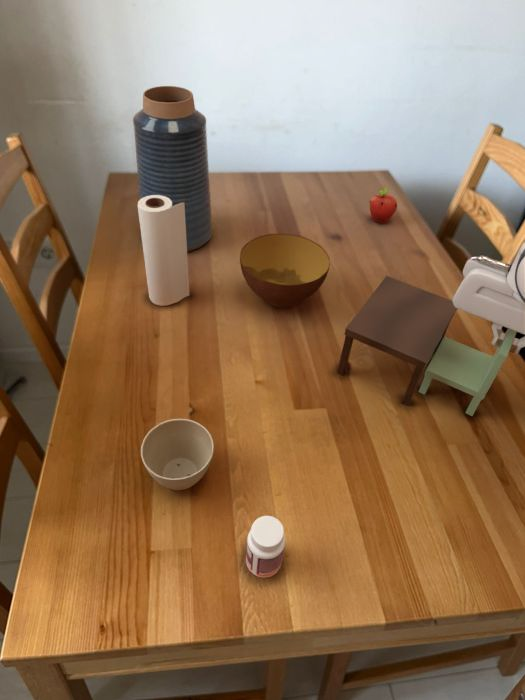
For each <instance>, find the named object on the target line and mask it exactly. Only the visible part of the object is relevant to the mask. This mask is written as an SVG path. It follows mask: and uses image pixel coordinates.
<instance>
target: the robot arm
mask: <svg viewBox="0 0 525 700" xmlns="http://www.w3.org/2000/svg"><path fill="white" fill-rule="evenodd" d="M462 276H463V279H462V281H461V283H460V284H459V285H458V288H457V290H456V291H455V293H454V295H453V297H452V300H451V301H452V302H453V304H454V306H455V308H457V310H460V311H462V312H465V313H467V314H471V315H472V316H476V317H477V318H480V319H483V320H486V321H488V322H490V323H492V325H491V331H492V334H493V338H492V341H491V343H490V344H491V345H492V346H495V347H497V348H498V347H501V345H502V343H503V342H504V339H505V337H506V334H505V332H503V331H502V329H503V327H504V328H506V329H508V328H509V329H511V330H514V331H517V333H520V334H522V335H524V336H522V337H521V338H517V337H515V338H514V340H513V343H512V346H511V348H510V351H509V353H512V354H515V355H518V354H519V353H520V351H521V349H522V348H525V241H523V243H522V244H521V245H520V247H519V249H518V252H517V254H516V255H515V257H514V260H513V261H512V264H510V263H507V262H504V261H501V260H496V259H492V258H490V257H489V256H486V255H479V256H471V257H469V258H468V259H467V260H466V261H465V263H464V265H463V268H462Z"/></svg>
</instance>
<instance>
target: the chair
mask: <svg viewBox="0 0 525 700" xmlns="http://www.w3.org/2000/svg"><path fill="white" fill-rule="evenodd" d="M517 333H518V332H517V331H514V330H511V329H509V328H506V331H505V332H504V334H506V337H505V339H504V342H503V343H502V345H501V347H497V348H496V350H495V352H494V353H493V355H490V354H488V353H485V352H483V351H481V350H478V349H476V348H473V347H471V346H469V345H467V344H463V343H462V342H459V341H456V340H453V339H451V338H449V337H446V336H444V338H443V340H442V341H441V343H440V345H439V347H438V349H437V351H436V350H435V352H434V353H433V354H434V355H432V358H431V359H430V362H429V364H427V367H426V368H425V371H424V374H423V375H424V377H423V380H422V382H421V385H420V387H419V390H418V393H420V394H422V395H424V396H425V395H426V394H427V392H428V389H429V387H430V385H431V383H432V380H436V381H438V382H441V383H442V384H445V385H447V386H450V387H452V388H454V389H457V390H459V391H461V392H463V393H466V394H468V395H470V396H472V399H471V401H470V403H469V404H468V406H467V408H466V411H465V414H466V415H468V416H471V417H473V416H474V414H475V412H476V410H477V409H478V407H479V405H480V403H481V401H483V400H484V399H485V398H486V396H487V394H488V392H489V390H490V388H491V387H492V385H493V383H494V381H495V379H496V377H497V376H498V374H499V372H500V370H501V368H502V367H503V365H504V363H505V361H506V359H507V358H508V355H509V353H510V348H511V346H512V343H513V340H514V338H516V336H517Z"/></svg>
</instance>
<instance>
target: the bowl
mask: <svg viewBox="0 0 525 700" xmlns="http://www.w3.org/2000/svg"><path fill="white" fill-rule="evenodd" d="M239 265H240V269H241V274H242V276H243V279H244V280H245V283H246V284H247V285H248V287H249V289H250V290H251V291H252V292H253V293H254V294H255V295H257V297H259V298H260V299H261V300H263V301H264V302H266V303H268V304H270V305H272V306H275V307H278V308H279V307H280V308H286V307H287V308H288V307H290V306H294V305H299V304H301V303H304V302H305V301H306V300H308V299H311V297H312V296H314V295H315V293H317V292H318V290H319V289H320V288H321V287H322V285H324V282H325V280H326V278H327V276H328V273H329V270H330V266H331V259H330V255H329V253H328V252H327V251H326V250H325V248H324V247H323V246H322V245H320V244H319V243H317V242H316V241H314V240H312V239H310V238H307V237H305V236H303V235H302V236H301V235H297V234H292V233H283V232H279V233H278V232H277V233H267V234H263V235H259V236H256V237H254V238H252V239H251V240H248V242H246V243H245V244H244V245H243V247H242V248H241V250H240V254H239Z"/></svg>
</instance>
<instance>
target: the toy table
mask: <svg viewBox="0 0 525 700" xmlns="http://www.w3.org/2000/svg"><path fill="white" fill-rule="evenodd" d="M457 311H458V309H457V308H455V306H454V304H453V302H452V300H451V299H448V298H446V297H443V296H440V295H438V294H436V293H433V292H430V291H428V290H425V289H423V288H420V287H418V286H414V285H412V284H409V283H408V282H407V283H406V282H404V281H402V280H399V279H397V278H395V277H392V276H389V275H386V276H385V277H384V278H383V280H382V281H380V283H379V285H378V286H377V287H376V288H375V290H374V291H373V292H372V293H371V295H370V296H369V297H368V299H367V300H366V301H365V303H364V304H363V305H362V306H361V307H360V309H359V310H358V312H357V313H356V314H355V315H354V316H353V318H352V319H351V321H350V322H349V323H348V325H347V326H346V327H345V330H344V333H343V335H344V340H343V346H342V350H341V354H340V357H339V362H338V367H337V371H336V374H338V375H341V376H344V375H345V373H346V371H347V367H348V363H349V360H350V355H351V351H352V347H353V343H354V340H355V341H357V342H360V343H362V344H365V345H367V346H369V347H371V348H373V349H377V350H378V351H381V352H383V353H386V354H387V355H390V356H392V357H394V358H397V359H399V360H401V361H404V362H406V363H408V364H410V365H413V366H415V367H414V370H413V372H412V374H411V377H410V380H409V382H408V385H407V388H406V390H405V392H404V395H403V398H402V400H401V404H403V405H404V406H407V407H409V405H410V403H411V401H412V399H413V396H414V393H415V391H416V389H417V386H418V384H419V381H420V379H421V376H422V374H423V372H424V370H426V368H427V367H426V366H428V363H429V361H430V360H431V359H432V358H431V357H433V354H434V353H435V352H436V351H437V349H438V347H439V345H440V343H441V341H442V340H443V338H444V337H446V334H447V331H448V328H449V326H450V324H451V321H452V319H453V318H454V316H455V314H456V312H457Z"/></svg>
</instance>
